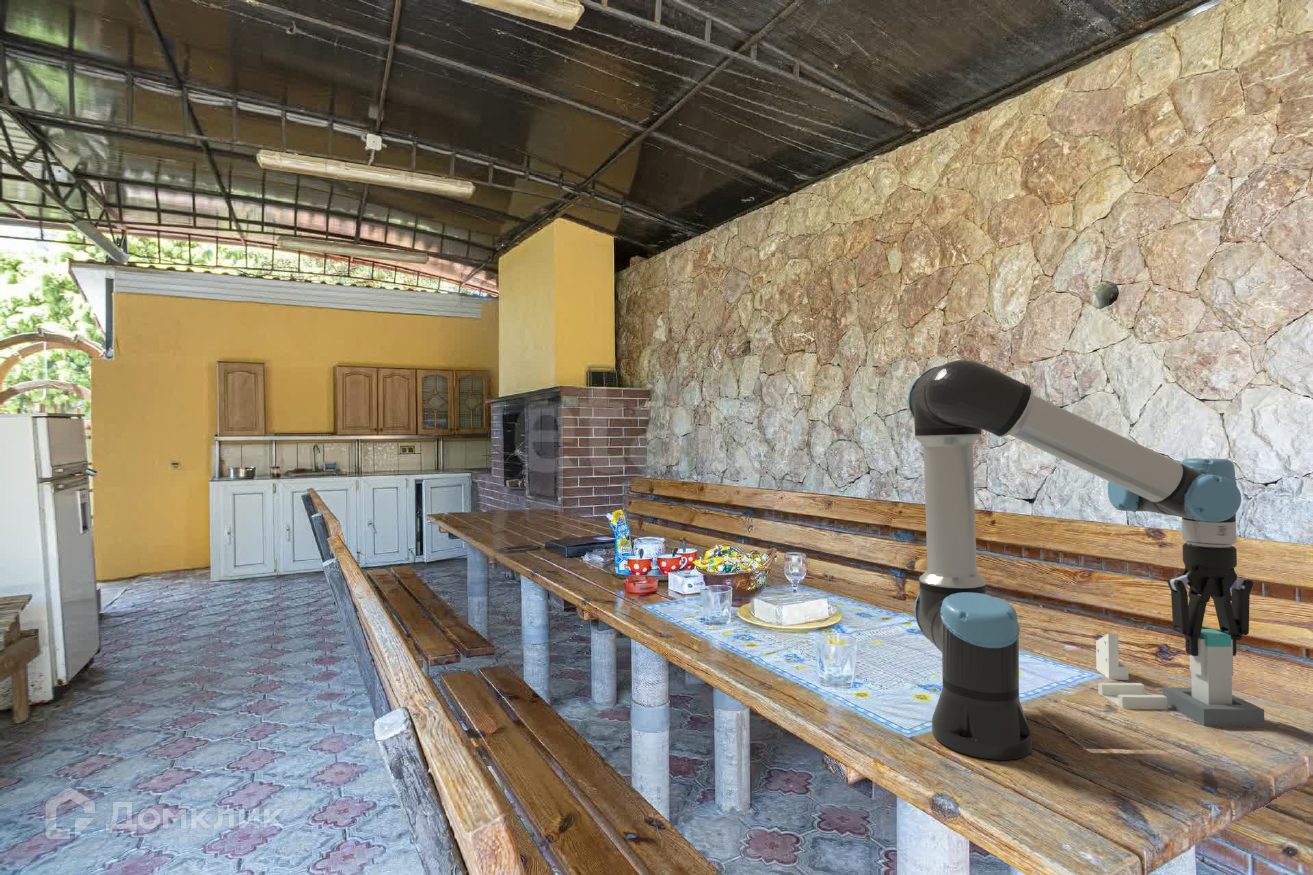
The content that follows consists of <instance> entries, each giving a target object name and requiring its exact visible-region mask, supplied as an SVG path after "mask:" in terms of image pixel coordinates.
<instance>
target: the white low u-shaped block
mask: <svg viewBox="0 0 1313 875" xmlns="http://www.w3.org/2000/svg"><path fill="white" fill-rule="evenodd" d="M1097 686H1098V688H1097V689H1098V692H1097V691H1096V692H1097V693H1098V694H1099V695H1100V696H1103V697H1104V698H1105V699H1107V700H1109V701H1111V702H1112V703H1113V704H1114V705H1117V706H1118V707H1120V708H1122V709H1123V710H1169V708H1168V706H1167V697H1165V696H1164V695H1163V694H1146V689H1145V688H1146V686H1145V684H1143V683H1142V682H1098V685H1097Z"/></svg>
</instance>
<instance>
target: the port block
mask: <svg viewBox="0 0 1313 875" xmlns="http://www.w3.org/2000/svg"><path fill="white" fill-rule="evenodd" d="M1162 695H1164V696H1165V697H1167V707H1169V708H1172V709H1173V710H1175V711H1176V712H1178V713H1180V714H1182V715H1184V716H1186V717H1187V718H1189V719H1190V720H1193V721H1194V722H1196V723H1198V724H1200V725H1202V726H1203V727H1250V728H1251V727H1254V728H1256V727H1259V728H1261V727H1262V728H1264V727H1265V709H1264V708H1261V707H1259V706H1257V705H1256V704H1254V703H1252V702H1249V701H1247V700H1245V699H1242V698H1240V697H1239V696H1236V695H1234V694H1232V705H1209V704H1205V703H1203V702H1201V701H1199V700H1197V699H1195V698H1193V697H1192V687H1187V686H1186V687H1179V686H1176V687H1175V686H1174V687H1173V686H1172V687H1170V686H1169V687H1168V686H1167V687H1162Z"/></svg>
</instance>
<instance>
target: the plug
mask: <svg viewBox="0 0 1313 875" xmlns="http://www.w3.org/2000/svg"><path fill="white" fill-rule="evenodd" d="M1200 638H1202V639H1205V674H1206V676H1200V675H1198V674H1196V673H1194V672H1192V671H1190V675H1191V676H1190V680H1191V688H1192V697H1193V698H1195V699H1197V700H1199V701H1201V702H1203V703H1205V704H1209V705H1232V695H1233V679H1232V678H1233V676H1232V662H1231V635H1228V634H1225V633H1223V632H1221V631H1220V630H1217V629H1214V628H1202V629H1201V634H1200Z"/></svg>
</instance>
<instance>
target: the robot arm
mask: <svg viewBox="0 0 1313 875" xmlns="http://www.w3.org/2000/svg"><path fill="white" fill-rule="evenodd" d="M907 405H908V409H909V412H910V414H911V415H912V417H913V419H914V420H913V421H914V423H913V424H914V438H915V439H916V440H917V441H918V442H919V443H921V445H922V446H923V462H924V463H923V469H924V473H923V474H924V498H925V499H924V500H925V501H924V502H925V503H924V504H925V532H926V534H925V535H926V564H927V569H926V571H925V572H923V573H922V575H920V576H919V579H918V581H919V582H918V583H919V585H918V586H919V593H918V595H917V597H916V599H915V602H914V608H913V610H914V612H913V613H914V618H915V620H916V623H917V626H918V628H919V630H920V631H921V632H922V634H923V636H924V637H925V638H926V639H927V640H928V641H930V643H932V644H933V645H934V646H935V647H936V648H937V649H938V650H939V651H940V652H941V657H942V658H941V659H942V660H941V662H942V664H941V666H942V668H941V670H942V688H941V692H940V695H939V698H938V700H937V703H936V707H935V709H934V712H933V715H932V717H931V718H932V719H931V733H932V735H933V737H934V739H936V740H937V741H938V742H939V743H940V744H942V745H943V746H945V747H947V748H949V749H951V750H953V751H955V752H957V753H961V754H964V755H967V756H971V757H974V758H975V757H976V758H980V759H985V760H995V761H1009V760H1010V761H1011V760H1016V759H1017V760H1018V759H1021V758H1024V757H1025V758H1026V756H1028V755H1030V754H1031V752H1032V750H1033V743H1032V742H1033V737H1032V731H1031V729H1030V726H1029V723H1028V721H1027V720H1028V719H1027V718H1026V717H1027V716H1026V715H1025V712H1024V709H1023V707H1022V703H1021V701H1020V644H1019V643H1020V642H1019V641H1020V640H1019V639H1020V629H1021V628H1020V624H1019V620H1018V618H1019V617H1018V614H1017V611H1016V609H1015V607H1013V605H1012V604H1010V603H1009V602H1008V601H1006V600H1003V599H1001V598H999V597H996V596H995V597H994V596H992V595H989V594H988V593H987V581H986V580H985V579H984V578H983V576H981V575H980V574H979V572H978V570H977V569H978V568H977V567H978V566H977V538H976V537H977V535H976V508H975V507H976V504H975V502H976V501H975V475H974V474H975V473H974V469H975V468H974V444H975V443H976V442H977V441H978V439H980V438H981V437H982V431H985V432H988V433H990V434H993V435H995V436H997V437H1000V438H1004V437H1007V436H1011V437H1014V438H1015V439H1017V440H1020V441H1022V442H1024V443H1025V444H1028V445H1031V446H1032V447H1034V448H1037V449H1039V450H1041V451H1043V452H1046V453H1047V454H1050V455H1052V456H1054V457H1055V458H1059V459H1060V460H1062V461H1065V462H1067V463H1068V464H1071V465H1074V466H1075V467H1077V468H1080V469H1082V470H1084V471H1086V472H1088V473H1090V474H1093V475H1094V476H1097V477H1099V478H1101V479H1103V480H1105V481H1108V482H1107V496H1108V500H1109V502H1110V505H1112V506H1113V507H1114V508H1115V510H1118V511H1121V512H1123V511H1124V512H1132V513H1137V512H1149V513H1154V514H1155V513H1156V514H1160V515H1161V514H1162V515H1166V516H1172V517H1178V518H1181V540H1183V541H1185V542H1184V543H1183V544H1182V562H1183V563H1184V570H1183V572H1182V574H1181V575H1180V576H1178V577H1175V578H1173V577H1169V578H1167V579H1166V583H1167V585H1168V587H1169V590H1170V595H1171V596H1170V597H1171V598H1170V600H1171V615H1172V616H1171V617H1172V629H1173V631H1174V632H1176V633H1179V634H1181V635H1184V640H1185V642H1184V643H1185V652H1186V654H1187V655H1189V671H1190V672H1191V671H1192V672H1194V673H1196V674H1198V675H1200V676H1206V674H1205V639H1202V638H1200V634H1201V629H1203V624H1204V619H1205V613H1206V608H1207V603H1209V602H1210V599H1212V600H1213V603H1214V609H1215V613H1216V617H1217V622H1218V627H1219V631H1220V632H1223V633H1225V634H1228V635H1231V662H1232V677H1234V657H1236V656H1237V641H1240V640H1242V639H1243V636H1247V635H1249V633H1250V600H1251V599H1250V597H1251V596H1250V595H1251V594H1250V593H1251V591H1252V588H1253V586H1254V581H1253V580H1252V579H1251V580H1250V579H1246V578H1242V577H1239V576H1238V575H1237V572H1236V571H1235V568H1236V567H1237V566H1238V550H1237V548H1236V547H1235V546H1233V545H1235V544H1236V543H1237V512H1238V510H1239V508H1240V507H1241V503H1242V494H1241V491H1240V489H1239V487H1238V486H1237V479H1236V478H1237V477H1236V470H1235V465H1234V463H1233V461H1232V460H1229V459H1226V458H1184V459H1182V460H1181V462H1178V461H1176V460H1175V459H1171V458H1170V457H1168V456H1165V455H1163V454H1161V453H1159V452H1157V451H1155V450H1152V449H1150V448H1148V447H1146V446H1144V445H1141V444H1140V443H1137V442H1135V441H1133V440H1131V439H1129V438H1127V437H1124V436H1122V435H1121V434H1118V433H1116V432H1113V431H1111V430H1109V429H1107V428H1105V427H1104V426H1101V425H1099V424H1098V423H1097V424H1096V423H1095V422H1092V421H1090V420H1088V419H1086V418H1084V417H1081V416H1079V415H1077V414H1075V413H1073V412H1071V411H1069V410H1068V409H1067V410H1066V409H1064V408H1062V407H1060V406H1058V405H1056V404H1054V403H1051V402H1049V401H1047V400H1045V399H1043V398H1041V397H1039V396H1036V395H1035V393H1034V390H1033V387H1031V386H1029V385H1028V384H1026V383H1023V382H1021V381H1019V380H1017V379H1015V378H1013V377H1011V376H1009V375H1007V374H1005V373H1002V372H1001V371H999V370H996V369H994V368H992V367H990V366H987V365H986V364H983V363H980V362H977V361H973V360H966V359H960V360H953V361H950V362H947V363H944V364H941V365H938V366H933V367H932V368H929V369H927V370H925V371H924V372H922V374H920V375H919V376H918V377H917V378H916V379H915V380H914V382H913V383H912V385H911V386H910V388H909V391H908V396H907Z"/></svg>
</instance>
